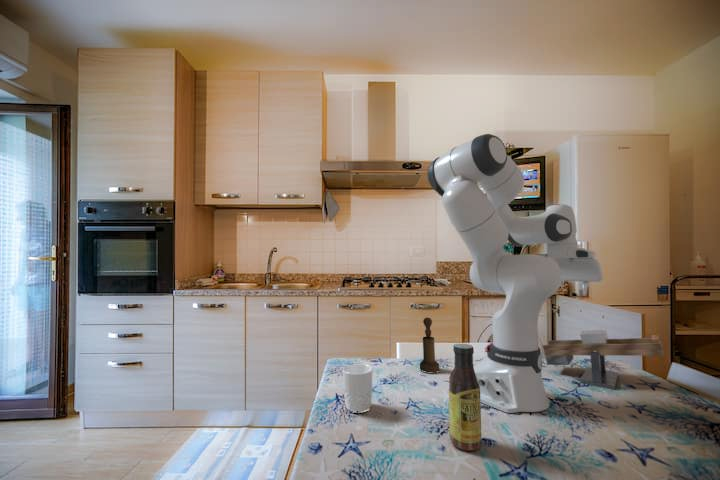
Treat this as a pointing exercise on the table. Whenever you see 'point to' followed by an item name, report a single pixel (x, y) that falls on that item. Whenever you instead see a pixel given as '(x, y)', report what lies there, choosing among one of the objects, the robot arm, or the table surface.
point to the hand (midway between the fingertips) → (565, 294)
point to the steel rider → (594, 337)
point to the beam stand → (599, 373)
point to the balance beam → (601, 349)
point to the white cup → (357, 386)
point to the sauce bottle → (464, 401)
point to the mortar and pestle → (428, 350)
